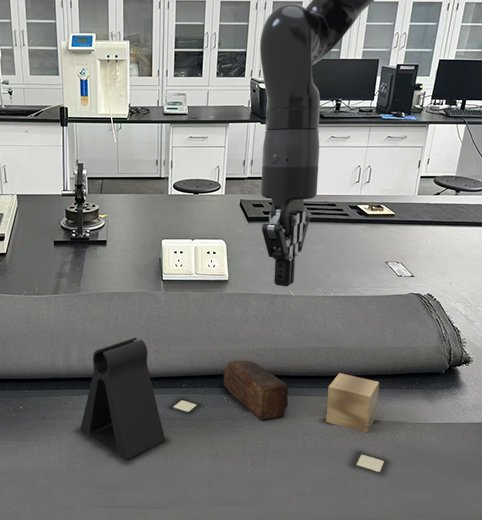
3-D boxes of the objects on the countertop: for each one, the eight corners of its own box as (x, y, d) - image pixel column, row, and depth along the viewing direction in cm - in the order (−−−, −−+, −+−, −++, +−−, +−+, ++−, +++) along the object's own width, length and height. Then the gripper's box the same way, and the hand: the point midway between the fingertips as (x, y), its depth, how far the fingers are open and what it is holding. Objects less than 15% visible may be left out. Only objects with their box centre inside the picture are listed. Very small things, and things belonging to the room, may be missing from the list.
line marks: (384, 462, 59) (384, 461, 59) (379, 473, 57) (379, 471, 57) (181, 401, 74) (181, 400, 74) (172, 408, 72) (172, 406, 72)
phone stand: (80, 431, 66) (77, 340, 64) (117, 415, 70) (115, 329, 68) (127, 462, 60) (126, 362, 57) (165, 442, 64) (165, 348, 61)
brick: (287, 417, 69) (289, 384, 68) (261, 422, 68) (262, 388, 67) (246, 384, 79) (247, 355, 78) (222, 388, 78) (223, 358, 77)
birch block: (376, 417, 69) (379, 381, 68) (367, 434, 65) (370, 396, 64) (336, 407, 72) (339, 372, 71) (325, 422, 68) (328, 386, 67)
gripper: (300, 165, 66) (293, 299, 70) (331, 162, 77) (323, 278, 81) (244, 164, 71) (240, 290, 74) (281, 162, 81) (276, 272, 85)
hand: (284, 284), depth 77 cm, fingers closed
